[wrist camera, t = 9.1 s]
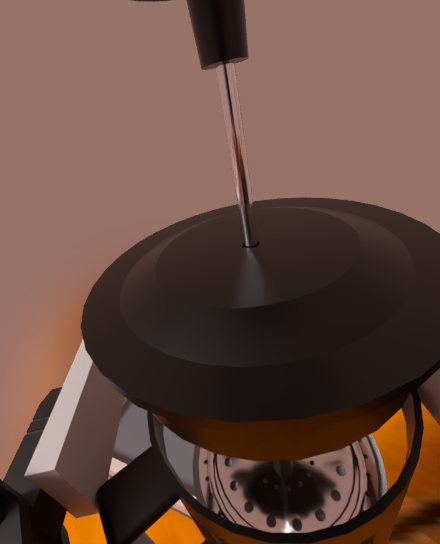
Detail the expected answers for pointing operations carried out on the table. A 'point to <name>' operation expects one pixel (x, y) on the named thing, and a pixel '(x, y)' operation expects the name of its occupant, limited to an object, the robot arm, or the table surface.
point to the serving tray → (137, 440)
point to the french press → (267, 351)
